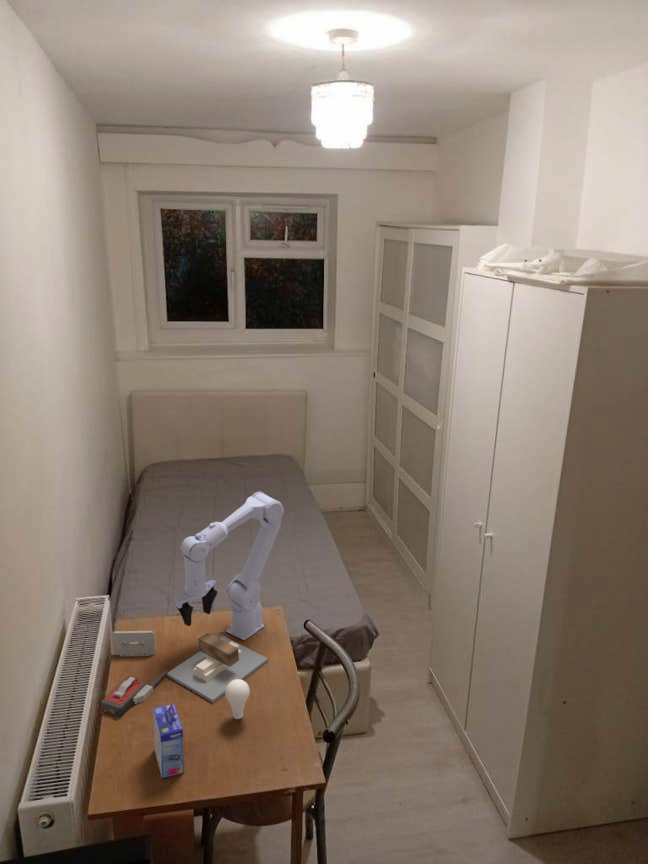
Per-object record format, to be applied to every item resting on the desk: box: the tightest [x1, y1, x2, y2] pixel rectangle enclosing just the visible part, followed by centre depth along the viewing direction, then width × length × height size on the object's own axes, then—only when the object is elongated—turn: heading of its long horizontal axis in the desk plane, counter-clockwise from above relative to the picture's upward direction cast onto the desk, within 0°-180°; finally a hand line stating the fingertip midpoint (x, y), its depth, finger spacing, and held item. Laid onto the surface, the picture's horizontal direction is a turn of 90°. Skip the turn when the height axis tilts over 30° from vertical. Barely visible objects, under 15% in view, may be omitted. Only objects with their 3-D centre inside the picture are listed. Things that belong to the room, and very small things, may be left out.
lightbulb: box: [224, 679, 251, 720], centre depth 167 cm, size 6×6×11 cm
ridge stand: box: [166, 635, 269, 704], centre depth 186 cm, size 22×18×4 cm
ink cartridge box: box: [152, 703, 185, 779], centre depth 152 cm, size 10×6×14 cm, turn 24°
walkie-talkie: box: [100, 669, 169, 718], centre depth 176 cm, size 9×4×20 cm
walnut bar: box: [198, 632, 239, 667], centre depth 185 cm, size 12×4×4 cm, turn 54°
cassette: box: [111, 630, 157, 657], centre depth 191 cm, size 12×2×8 cm, turn 93°
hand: (197, 618), depth 192 cm, fingers open, 7 cm apart
